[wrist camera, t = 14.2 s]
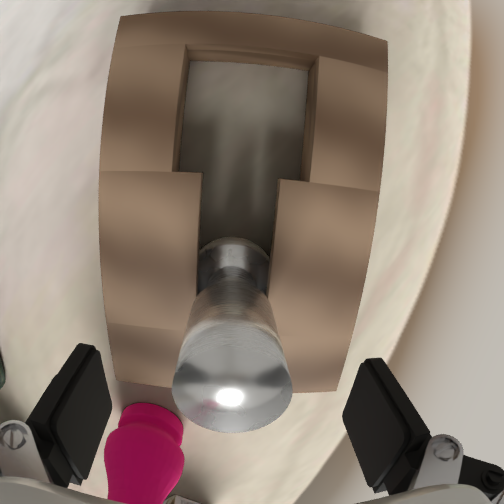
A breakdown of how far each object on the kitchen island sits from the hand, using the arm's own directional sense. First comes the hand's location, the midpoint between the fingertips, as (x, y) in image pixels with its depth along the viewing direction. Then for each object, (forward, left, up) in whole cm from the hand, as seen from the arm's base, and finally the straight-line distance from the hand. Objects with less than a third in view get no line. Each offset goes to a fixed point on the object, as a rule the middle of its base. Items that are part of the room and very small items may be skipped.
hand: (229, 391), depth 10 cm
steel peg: (+1, 0, -12) cm, 12 cm away
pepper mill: (+17, -7, -13) cm, 22 cm away
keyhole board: (-4, 0, -12) cm, 13 cm away
